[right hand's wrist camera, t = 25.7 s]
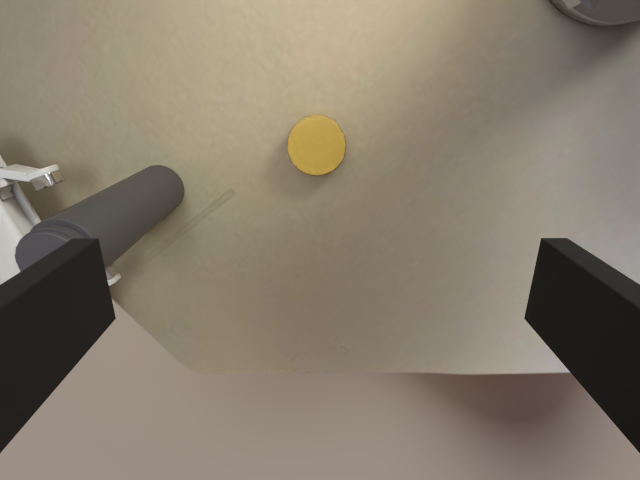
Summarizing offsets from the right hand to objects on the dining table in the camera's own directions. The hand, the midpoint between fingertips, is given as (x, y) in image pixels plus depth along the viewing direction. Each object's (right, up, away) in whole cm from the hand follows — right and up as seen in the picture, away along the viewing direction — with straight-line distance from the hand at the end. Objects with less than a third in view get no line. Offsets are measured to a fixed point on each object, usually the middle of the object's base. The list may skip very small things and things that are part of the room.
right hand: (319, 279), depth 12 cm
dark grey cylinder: (-16, +6, +28) cm, 33 cm away
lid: (0, +10, +25) cm, 27 cm away
